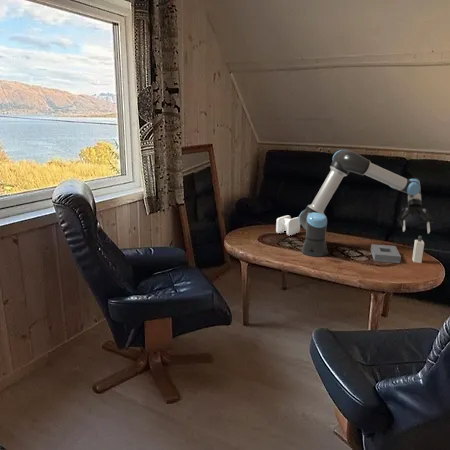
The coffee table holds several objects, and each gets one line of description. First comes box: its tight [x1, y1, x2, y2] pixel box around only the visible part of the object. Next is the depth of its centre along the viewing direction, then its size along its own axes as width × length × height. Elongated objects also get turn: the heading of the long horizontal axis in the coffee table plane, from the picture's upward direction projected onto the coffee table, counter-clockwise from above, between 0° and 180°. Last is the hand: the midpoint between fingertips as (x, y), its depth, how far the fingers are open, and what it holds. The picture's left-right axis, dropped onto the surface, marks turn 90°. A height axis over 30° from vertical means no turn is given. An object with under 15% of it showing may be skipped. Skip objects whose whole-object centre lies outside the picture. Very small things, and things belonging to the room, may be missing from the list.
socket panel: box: [370, 243, 402, 264], centre depth 247 cm, size 14×20×4 cm
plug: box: [411, 235, 425, 264], centre depth 239 cm, size 4×5×15 cm
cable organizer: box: [275, 214, 301, 237], centre depth 291 cm, size 15×11×12 cm
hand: (416, 231), depth 247 cm, fingers open, 13 cm apart
